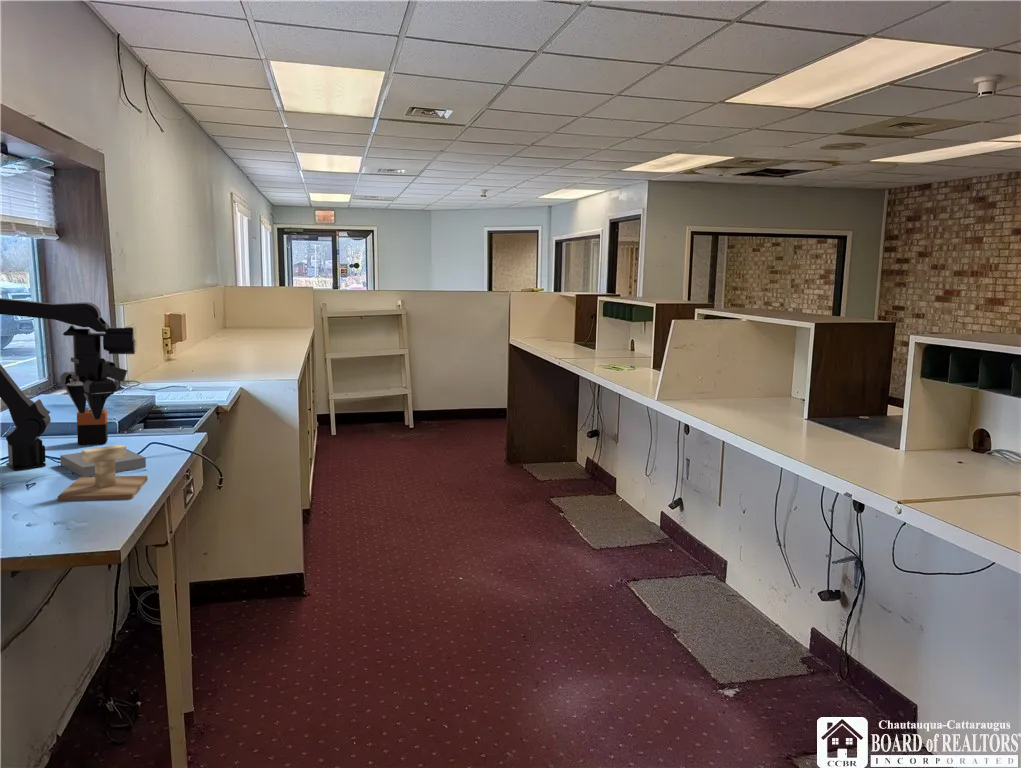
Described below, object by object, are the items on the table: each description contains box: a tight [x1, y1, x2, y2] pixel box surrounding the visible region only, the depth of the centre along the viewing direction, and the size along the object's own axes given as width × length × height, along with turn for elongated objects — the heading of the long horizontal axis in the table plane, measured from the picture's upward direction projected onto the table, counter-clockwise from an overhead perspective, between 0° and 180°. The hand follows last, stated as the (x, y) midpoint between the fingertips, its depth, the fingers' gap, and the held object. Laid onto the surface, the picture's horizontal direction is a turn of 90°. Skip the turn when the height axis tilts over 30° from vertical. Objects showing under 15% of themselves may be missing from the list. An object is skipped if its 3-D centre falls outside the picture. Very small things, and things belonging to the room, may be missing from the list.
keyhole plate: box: [59, 448, 147, 477], centre depth 166 cm, size 14×14×2 cm
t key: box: [81, 444, 127, 488], centre depth 149 cm, size 8×3×8 cm, turn 142°
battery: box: [76, 406, 109, 446], centre depth 186 cm, size 4×7×10 cm, turn 115°
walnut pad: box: [57, 475, 149, 502], centre depth 149 cm, size 14×14×1 cm
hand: (89, 416), depth 167 cm, fingers open, 9 cm apart
